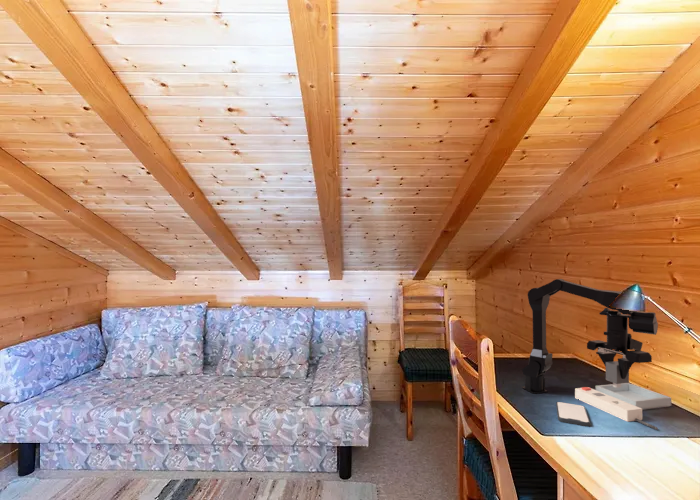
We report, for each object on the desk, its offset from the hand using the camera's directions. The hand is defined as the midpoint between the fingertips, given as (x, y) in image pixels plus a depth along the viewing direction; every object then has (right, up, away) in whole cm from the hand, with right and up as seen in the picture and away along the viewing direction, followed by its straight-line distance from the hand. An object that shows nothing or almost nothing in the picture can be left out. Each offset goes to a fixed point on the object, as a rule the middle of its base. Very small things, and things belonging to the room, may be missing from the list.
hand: (617, 376), depth 125 cm
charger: (0, -3, 0) cm, 3 cm away
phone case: (-16, -13, -2) cm, 20 cm away
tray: (+14, -12, +11) cm, 22 cm away
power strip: (0, -12, 0) cm, 12 cm away
